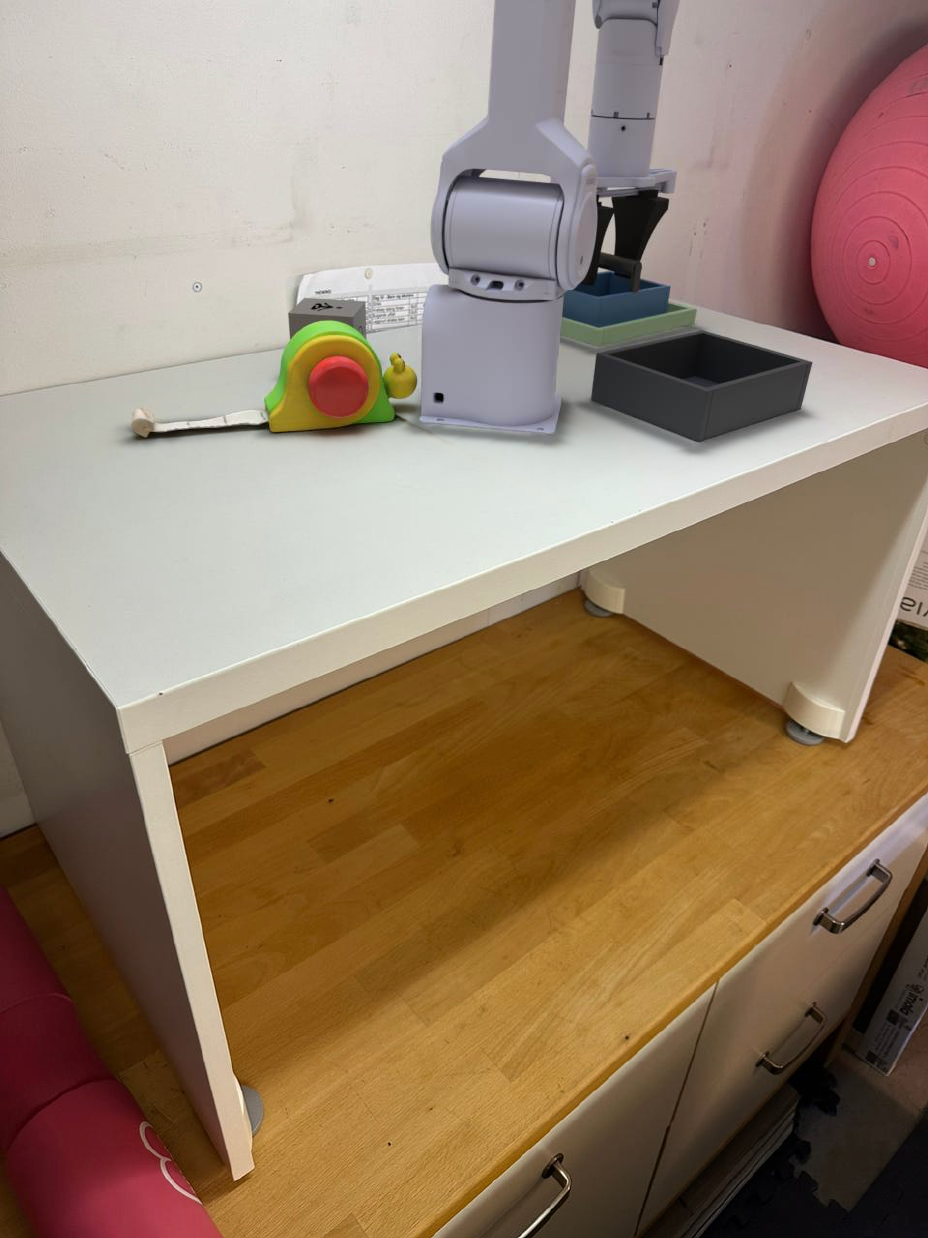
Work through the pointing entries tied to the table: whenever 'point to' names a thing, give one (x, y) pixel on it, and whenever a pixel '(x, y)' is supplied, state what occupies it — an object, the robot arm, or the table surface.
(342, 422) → the toy measuring tape
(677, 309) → the green tray
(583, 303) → the blue bin
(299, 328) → the dark gray cube
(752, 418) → the charcoal bin
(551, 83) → the robot arm
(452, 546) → the table surface
